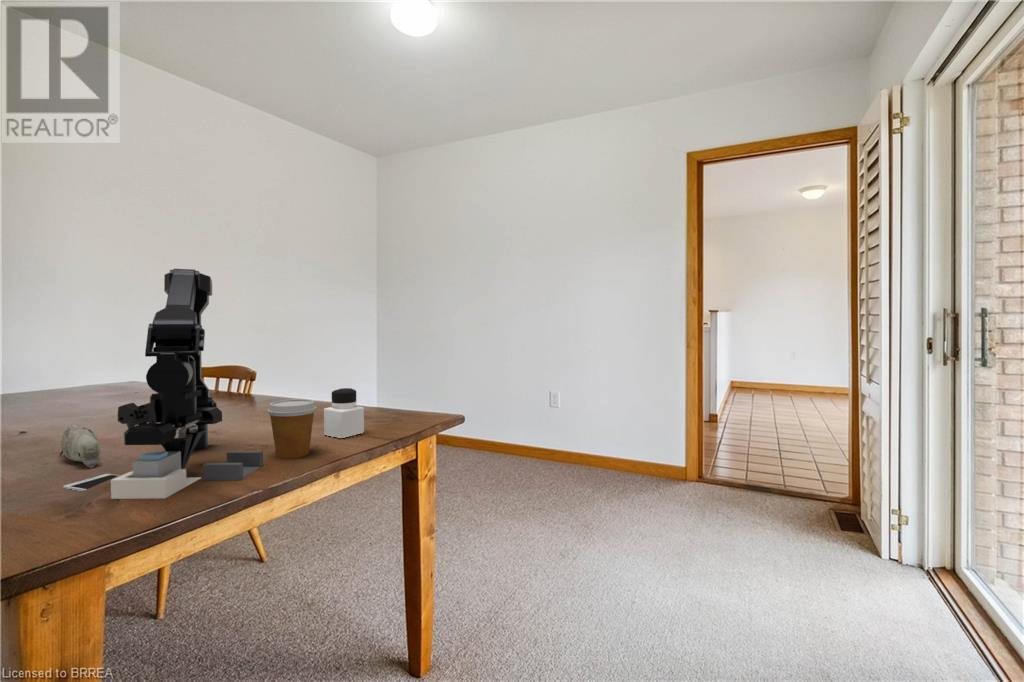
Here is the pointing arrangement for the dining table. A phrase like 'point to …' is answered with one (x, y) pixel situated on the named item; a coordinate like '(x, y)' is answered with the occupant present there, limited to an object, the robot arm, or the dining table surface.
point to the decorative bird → (80, 444)
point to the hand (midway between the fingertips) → (179, 471)
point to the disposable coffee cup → (292, 426)
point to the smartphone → (89, 482)
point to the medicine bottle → (343, 415)
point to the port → (149, 485)
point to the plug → (156, 464)
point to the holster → (234, 466)
